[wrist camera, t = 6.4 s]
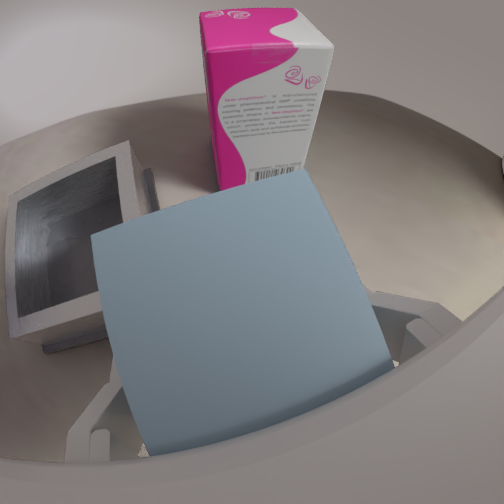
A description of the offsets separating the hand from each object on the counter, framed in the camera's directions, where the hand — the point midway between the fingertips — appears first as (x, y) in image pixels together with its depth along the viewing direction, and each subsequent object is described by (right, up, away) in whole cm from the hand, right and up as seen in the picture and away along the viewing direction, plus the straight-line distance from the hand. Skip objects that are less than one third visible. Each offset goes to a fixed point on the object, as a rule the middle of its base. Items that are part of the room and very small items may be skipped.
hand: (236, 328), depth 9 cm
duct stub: (0, -3, +7) cm, 8 cm away
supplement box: (+1, +9, +12) cm, 15 cm away
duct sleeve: (-10, +2, +9) cm, 14 cm away
